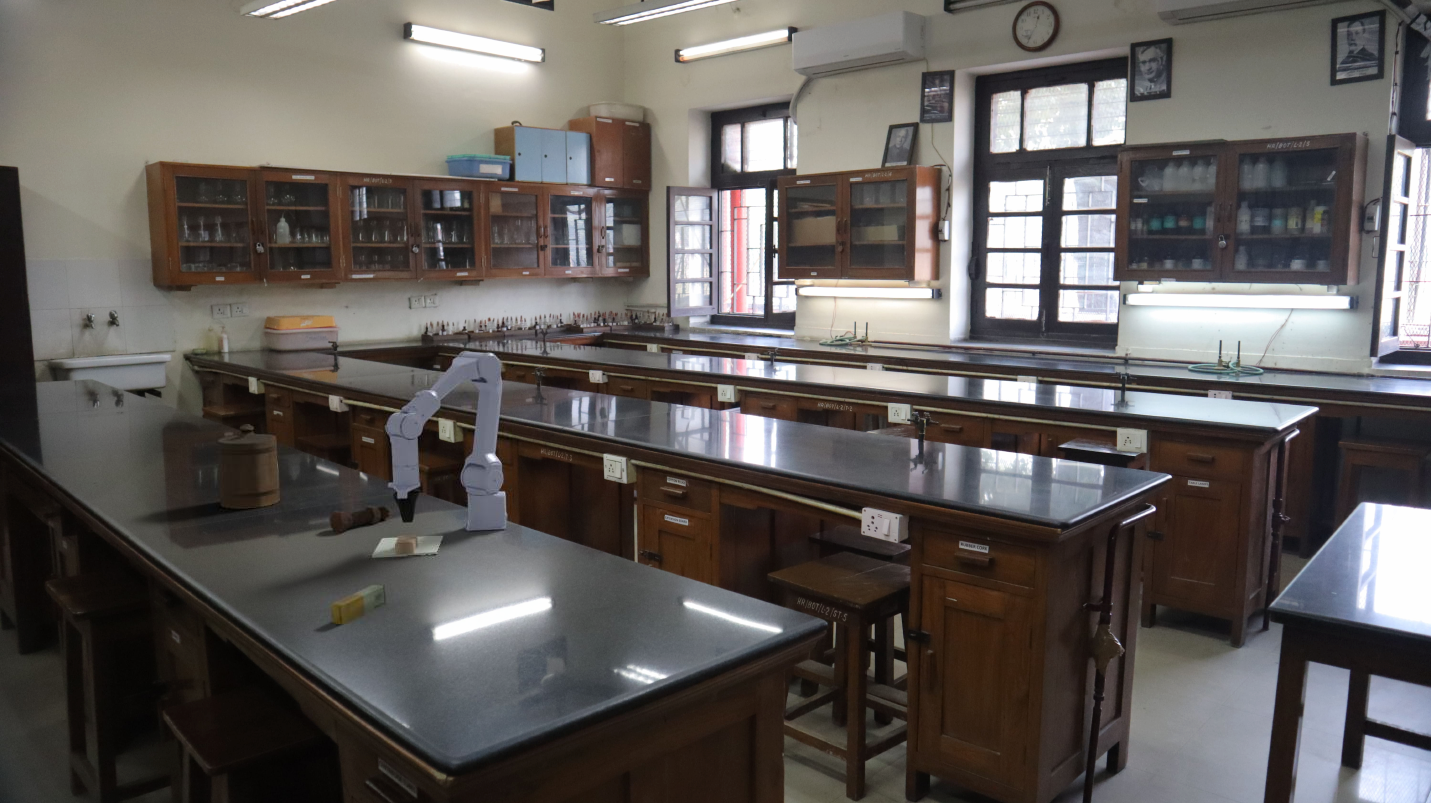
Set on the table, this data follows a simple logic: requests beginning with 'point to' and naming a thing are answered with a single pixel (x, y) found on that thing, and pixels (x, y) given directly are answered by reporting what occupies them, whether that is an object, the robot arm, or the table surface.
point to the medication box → (358, 604)
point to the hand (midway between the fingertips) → (407, 521)
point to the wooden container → (248, 470)
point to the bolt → (357, 517)
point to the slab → (406, 544)
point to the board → (424, 547)
